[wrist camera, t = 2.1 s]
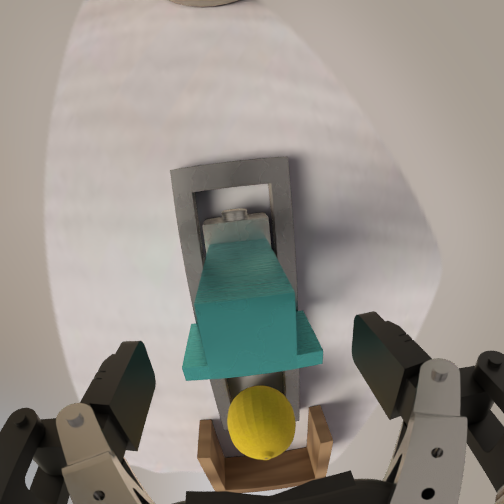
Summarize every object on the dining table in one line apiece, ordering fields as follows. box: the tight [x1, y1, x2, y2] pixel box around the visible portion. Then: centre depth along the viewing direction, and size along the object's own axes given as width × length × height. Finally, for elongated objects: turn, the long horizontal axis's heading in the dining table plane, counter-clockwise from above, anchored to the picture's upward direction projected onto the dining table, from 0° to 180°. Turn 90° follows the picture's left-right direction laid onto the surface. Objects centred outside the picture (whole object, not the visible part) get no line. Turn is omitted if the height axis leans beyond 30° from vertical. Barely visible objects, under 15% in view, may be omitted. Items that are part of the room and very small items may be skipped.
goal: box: [197, 405, 333, 493], centre depth 24 cm, size 9×12×5 cm
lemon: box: [227, 386, 296, 460], centre depth 20 cm, size 6×6×8 cm
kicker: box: [182, 208, 323, 381], centre depth 15 cm, size 8×8×10 cm
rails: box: [170, 157, 299, 430], centre depth 21 cm, size 24×7×2 cm, turn 6°
